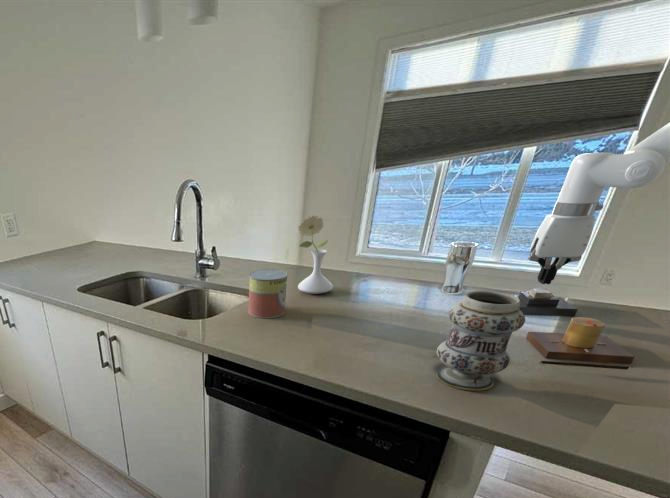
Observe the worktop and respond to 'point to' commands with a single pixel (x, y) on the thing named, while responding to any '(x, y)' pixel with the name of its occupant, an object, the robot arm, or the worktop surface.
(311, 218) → the flower in vase
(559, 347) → the volume panel
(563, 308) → the piano block
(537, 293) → the key
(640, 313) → the worktop surface
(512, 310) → the apothecary jar
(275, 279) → the canned food
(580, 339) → the dial
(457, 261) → the beer glass
